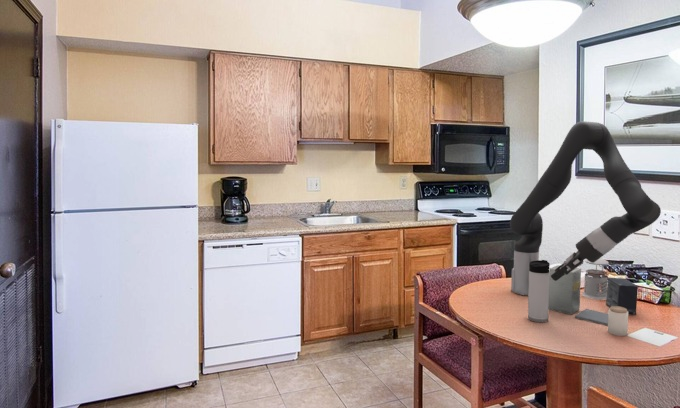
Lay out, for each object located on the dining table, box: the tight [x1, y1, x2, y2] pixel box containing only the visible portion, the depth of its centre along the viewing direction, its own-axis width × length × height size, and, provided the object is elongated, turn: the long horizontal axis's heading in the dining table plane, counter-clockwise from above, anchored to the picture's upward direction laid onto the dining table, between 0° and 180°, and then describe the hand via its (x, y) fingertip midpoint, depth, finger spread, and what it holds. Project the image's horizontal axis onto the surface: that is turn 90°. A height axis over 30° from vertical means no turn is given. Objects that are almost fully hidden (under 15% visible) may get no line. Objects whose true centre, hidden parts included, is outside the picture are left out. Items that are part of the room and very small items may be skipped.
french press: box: [580, 257, 609, 301], centre depth 174 cm, size 10×12×25 cm
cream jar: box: [607, 306, 629, 337], centre depth 137 cm, size 5×5×8 cm
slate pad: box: [574, 308, 608, 327], centre depth 150 cm, size 10×10×1 cm
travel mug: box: [527, 259, 550, 324], centre depth 149 cm, size 6×7×20 cm
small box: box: [605, 276, 639, 316], centre depth 158 cm, size 11×6×10 cm, turn 168°
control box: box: [548, 264, 582, 315], centre depth 159 cm, size 9×7×15 cm
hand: (554, 275), depth 146 cm, fingers open, 8 cm apart
